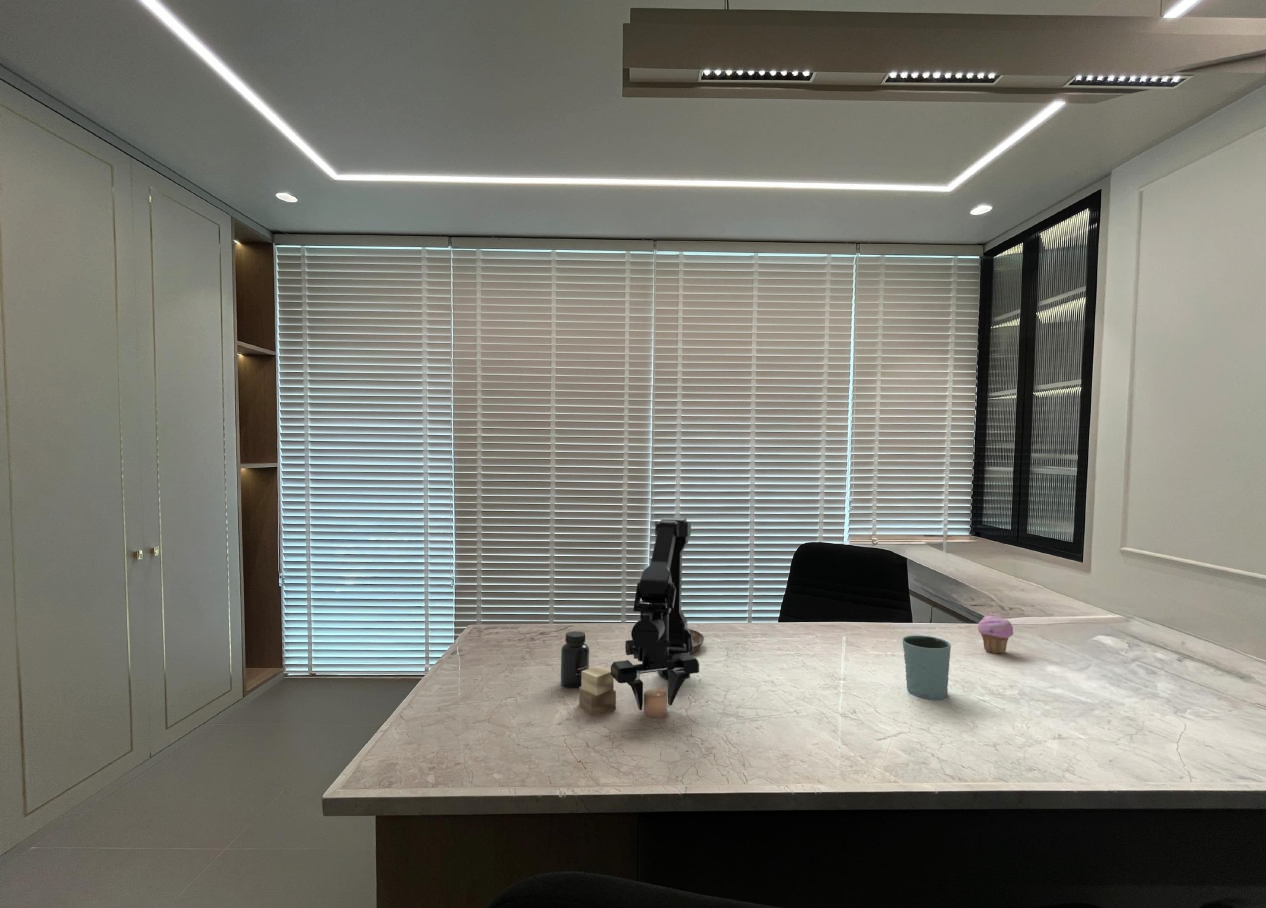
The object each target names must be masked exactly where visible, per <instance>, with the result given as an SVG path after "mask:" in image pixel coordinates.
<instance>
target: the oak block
mask: <svg viewBox="0 0 1266 908" xmlns="http://www.w3.org/2000/svg"><path fill="white" fill-rule="evenodd" d="M614 681H615V679H614V678H613V676H612V675H611V669H609V668H606V667H604V666H600V665H597V666H592V667H589V669H587V670H584V671H582V683H581V689H582V690H584V691H586V692H589V693H591V694H594V695H596V696H598V695H600V694H603V693H605V692H608V691H610V690H615V689H614V686H615V685H614V683H615V682H614Z"/></svg>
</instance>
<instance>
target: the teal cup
mask: <svg viewBox="0 0 1266 908" xmlns="http://www.w3.org/2000/svg"><path fill="white" fill-rule="evenodd" d="M901 641H902V648H903V652H904V654H903V657H904V659H903V660H904V664H905V665H904V667H905V673H906V674H905V679H906V691H907V692H908V693H909V694H911V695H913V696H915V697H918V698H921V699H925V700H926V699H927V700H933V701H934V700H943V699H944V700H945V699H946V698H947V697H948V692H949V691H948V690H949V688H948V686H949V674H950V673H949V671H950V659H951V648H952V647H951V646H952V645H951V643H950V642H949V641H947V640H945V639H942V638H939V637H935V636H930V635H923V634H922V635H919V634H918V635H915V634H914V635H907V636H905V637H903V638H902V640H901Z"/></svg>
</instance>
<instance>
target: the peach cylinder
mask: <svg viewBox="0 0 1266 908" xmlns="http://www.w3.org/2000/svg"><path fill="white" fill-rule="evenodd" d="M667 704H668V692H666V691H665V690H662V689H657V688H656V689H654V688H653V689H652V688H651V689H648V690H645V691H643V714H644V715H645V716H647V717H649V718H661V717H664V716H666V715H667V713H668V709H667V708H668V705H667Z"/></svg>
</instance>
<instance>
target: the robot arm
mask: <svg viewBox="0 0 1266 908" xmlns="http://www.w3.org/2000/svg"><path fill="white" fill-rule="evenodd" d="M687 521H688V520H687V518H686V517H662V518H661V520H660V521H658V520H657V521H656V520H655V521H654V523H655V524H654V536H655V541H654V545H653V546H654V547H653V550H652V556H651V560H650V563H649V565H648V566H647V567H646V568H645V569H643V570H642V573H641V576H640V579H639V580H638V581H637V584H636V588H635V589H636V591H635V597H634V604H633V610H632V611H633V612H638V613H640V614H639V619H638V620H637V621H636V622H635V623H634V625H633V627H632V628H631V633H630V634H631V635H630V636H631V639H628V640H625V654H626V656H632V655H633V659H635V660H637V661H638V662H641V663H638V664H633V663H632V662H631V661H630V660H629V659H625V660H619V661H618V660H617V661H613V662H612V663H611V665H610V670H611V675H612V676H613V678H614V681H616V682H617V683H618V684H627V685H628V686H629V687H630V688H631V690H632V693H633V696H634V699H635V702H636V705H637V708H638V709H639V710H640V711H643V707H644V681H643V680H641V677H640V674H649V673H655V672H657V673H659V675H661V676H662V677H663V678H664V679H665V680H668V681H667V682H668V684H667V704H668V706H672V705H673V703H674V701H675V700H676V697H677V695H678V692H679V691H680V688H681V687H682V685H683V684H684V682H685V680H686V679H688V678H690V677H691V675H692V674H698V673H700V662H699V659H697V658H695V657H694V656H693V655H692V654H691V653H689V652H692V653H694V652H693V642H692V635H691V634H690V630H689V629H690V628H688V620H687V618H686V616H685V614H684V612H683V611H682V594H683V593H682V591H683V590H682V586H683V585H682V583H683V582H682V580H683V576H682V575H683V571H682V570H683V551H684V550H685V548H686V547H687V545H688V544H689V537H691V535H692V524H691V522H687ZM687 628H688V629H687ZM685 644H686V645H685Z"/></svg>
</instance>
